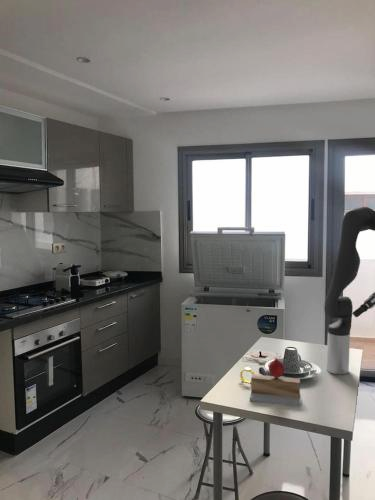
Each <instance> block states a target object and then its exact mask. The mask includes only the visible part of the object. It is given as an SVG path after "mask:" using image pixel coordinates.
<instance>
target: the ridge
mask: <svg viewBox="0 0 375 500" xmlns="http://www.w3.org/2000/svg"><path fill="white" fill-rule="evenodd" d="M254 374H255V373H254ZM254 374H252V373H251V379H250V380H251V383H250V387H251V388H250V394H251V393H256V394H265V395H275V396H284V397H293V398H300V395H301V394H300V393H301V392H300V389H301V379H300V378H295V377H294V378H293V377H284V376H280V377H279V378H275V377H274V376H273V375H269V376H264V375H263V374H255V375H254Z"/></svg>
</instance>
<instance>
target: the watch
mask: <svg viewBox="0 0 375 500" xmlns="http://www.w3.org/2000/svg"><path fill="white" fill-rule="evenodd" d="M244 371H245V372H250V373H251V375H252V374H254V375H256V374H255V373H254V371H253V370H252V367H248V366H247V367H244V369H242V370H241V371H240V375H239V377H240V379H241V381H242V382H243V383H248V384H251V381H250V380H246V379H245V378H244V376H243V372H244Z"/></svg>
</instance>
